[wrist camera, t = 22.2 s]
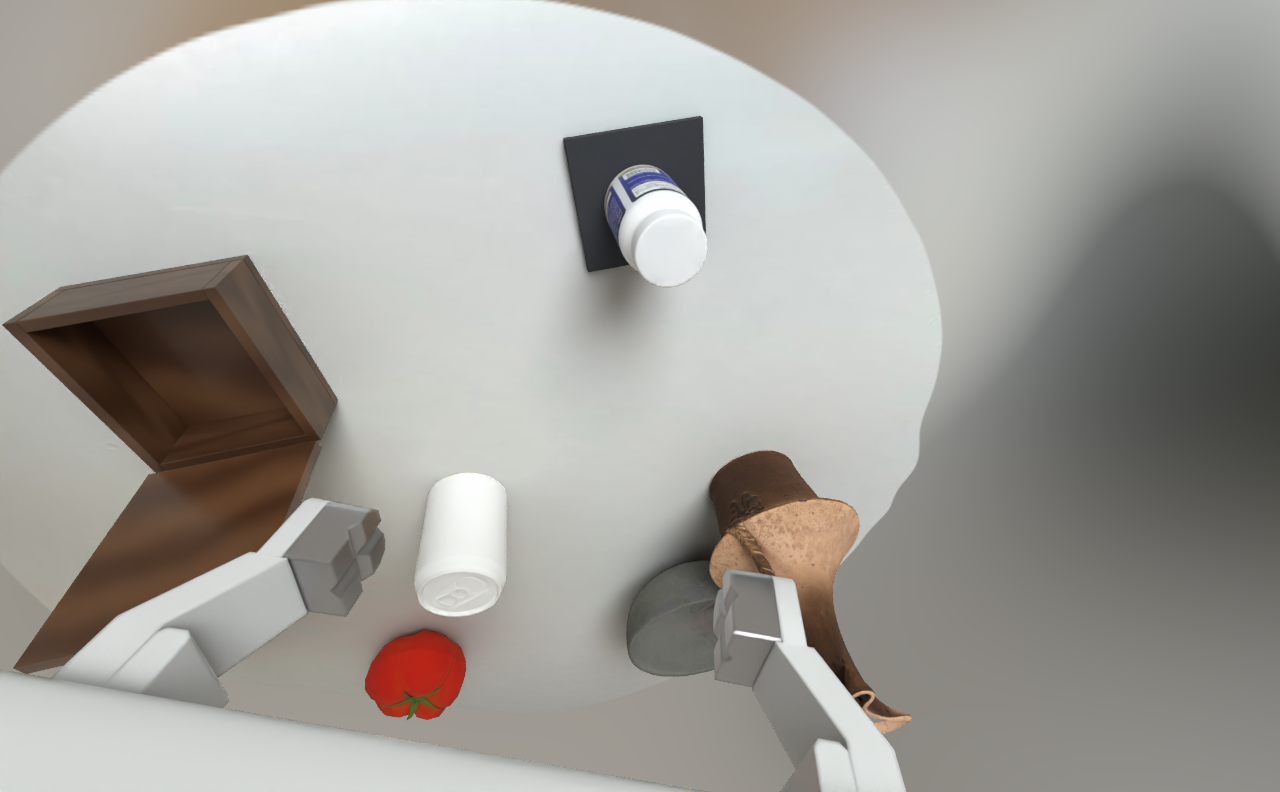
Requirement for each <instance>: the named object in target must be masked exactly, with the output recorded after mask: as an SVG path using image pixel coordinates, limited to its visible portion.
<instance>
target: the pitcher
mask: <svg viewBox="0 0 1280 792" xmlns="http://www.w3.org/2000/svg"><path fill="white" fill-rule="evenodd" d="M710 497H711V500H712V502H713V504H714V507H715V511H716V515H717V519H718V524H719V529H720V534H721V539H720V541H719V542H718V543H717V545H716V547H715V548H714V550H713V552H712V555H711V558H710V562H709V571H710V575H711V577H712V579H713V581H714V582H715V584H716V585H717V586H718V587H720V588H721V589H722V588H723V576H724V574H725V571H726V570H727V569H735V570H741V571H748V572H754V573H760V574H767V575H770V576H776V577H782V578H788V579H793V581H794V582H795V585H796V590H797V595H798V600H799V605H800V610H801V616H802V621H803V626H804V631H805V636H806V642H807V646H808V647H813V648H815V650H816V651H817V652H818V654H819V655H820V656H821V657H822V659H823V660H824V661H825V662H826V664H827V665H828V666H829V668H830V669H831V670H832V671H833V673H834V674H835V675H836V676H837V678H838V679H839V680H840V682H841V683H842V684H843V685H844V687H845V688H846V689H847V690H848V692H849V693H850V694H851V696H852V697H853V698H854V699H855V701H856V702H857V703H858V704H859V706H860V707H861V708H862V710H863V711H864V712H865V713H866V715H867V716H868V717H872V718H877V719H882V721H881V722H880V723H878V722H876V723H875V724H874V725H875V726H876V727H877V729H878V730H879V731H880V732H881V734H884V733H887V732H889V731H892V730H894V729H897V728H899V727H900V726H903V725H904V724H906V723H908V722H910V721H911V715H909V714H905V713H902V712H899V711H896V710H894V709H891V708H889V707H887V706H886V705H885V704H883V703H882V702H881V701H879V700H878V699H877V698H876V697H875V693H874V691H873V690H872V689H871V688H870V687H869V686H868V685H867V684H866V683H865V682H864V680H863V679H862V677H861V675H860V674H859V672H858V670H857V668H856V667H855V665H854V663H853V661H852V659H851V656H850V654H849V653H848V651H847V648H846V646H845V644H844V641H843V638H842V636H841V633H840V630H839V627H838V623H837V620H836V616H835V611H834V605H833V583H834V578H835V574H836V572H837V569H838V567H839V565H840V563H841V561H842V560H843V558H844V557H845V555H846V554H847V552H848V551H849V550H850V549H851V547H852V546H853V544H854V542H855V540H856V538H857V536H858V532H859V518H858V514H857V513H856V511H855V510H854V509H853V507H851V506H850V505H848V504H847V503H844V502H843V501H840V500H835V499H828V498H819V497H818V496H817V495H816V494H815V493H814V491H813V490H812V489H811V488H810V487H809V485H808V484H807V483H806V482H805V481H804V479H803V478H802V477H801V476H800V474H799V473H798V471H797V470H796V468H795V467H794V465H793V463H792V461H791V460H790V459H789V458H788V457H787V456H786V455H784V454H782V453H779V452H775V451H758V452H754V453H750V454H748V455H745V456H742V457H739V458H737V459H735V460H733V461H732V462H730V463H728V464H727V465H726V466H724V467H723V468H722V469H721V470H720V471H719V472H718V473H717V474H716V476H715V477H714V479H713V481H712V483H711V486H710Z"/></svg>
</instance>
